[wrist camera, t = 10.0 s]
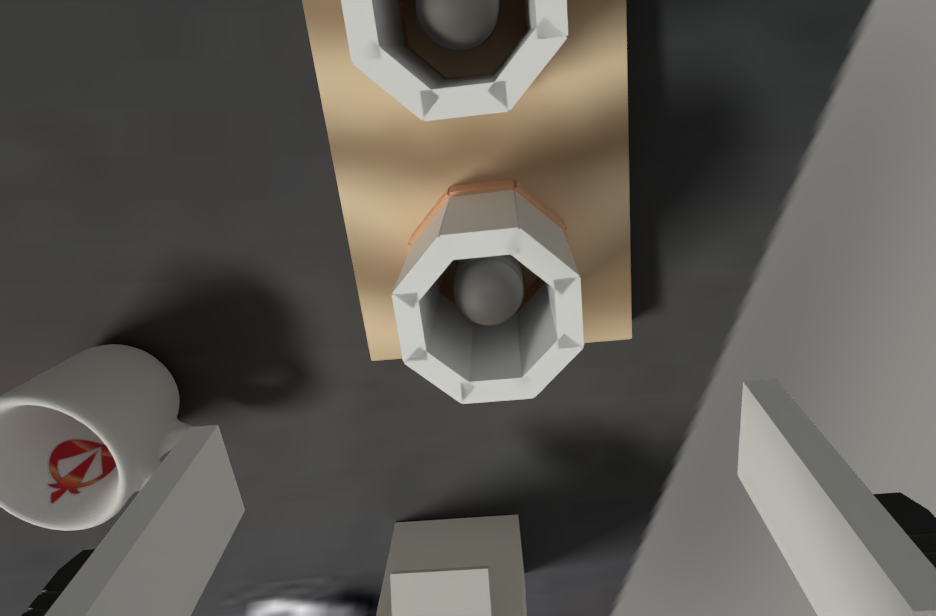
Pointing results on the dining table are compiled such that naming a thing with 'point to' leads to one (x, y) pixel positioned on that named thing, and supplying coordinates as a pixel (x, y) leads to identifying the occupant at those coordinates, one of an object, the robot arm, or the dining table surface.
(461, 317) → the sleeve
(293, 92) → the dining table surface
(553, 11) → the sleeve seated
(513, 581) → the box
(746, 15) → the dining table surface
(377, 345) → the pin board
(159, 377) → the cup
